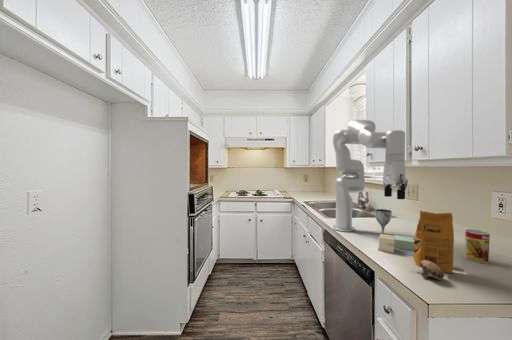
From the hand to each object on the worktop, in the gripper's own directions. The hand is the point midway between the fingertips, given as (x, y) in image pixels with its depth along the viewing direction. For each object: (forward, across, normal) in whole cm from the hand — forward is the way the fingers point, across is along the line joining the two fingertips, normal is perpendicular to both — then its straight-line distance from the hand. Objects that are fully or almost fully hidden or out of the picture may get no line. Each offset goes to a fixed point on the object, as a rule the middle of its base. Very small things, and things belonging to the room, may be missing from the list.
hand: (394, 197), depth 114 cm
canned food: (+26, +5, +33) cm, 42 cm away
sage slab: (+24, -8, +10) cm, 27 cm away
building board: (+25, -6, +6) cm, 27 cm away
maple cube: (+24, -4, -1) cm, 25 cm away
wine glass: (+25, -26, +9) cm, 37 cm away
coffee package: (+26, +14, +7) cm, 30 cm away
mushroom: (+26, +22, 0) cm, 34 cm away
